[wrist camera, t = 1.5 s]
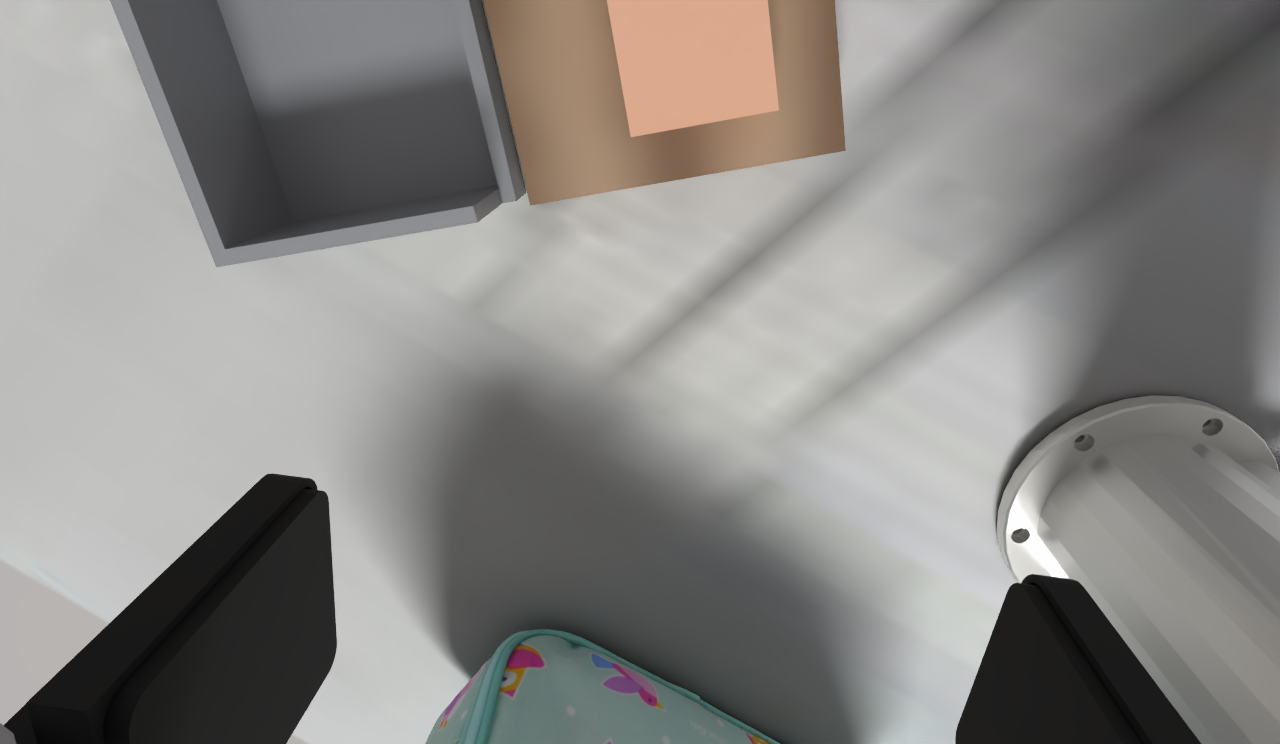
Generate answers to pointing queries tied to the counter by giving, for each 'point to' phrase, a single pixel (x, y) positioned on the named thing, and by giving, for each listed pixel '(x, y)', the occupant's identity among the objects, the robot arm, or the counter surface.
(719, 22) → the terracotta block
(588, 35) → the tan wooden board
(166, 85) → the box
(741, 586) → the counter surface
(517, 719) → the lunch box
